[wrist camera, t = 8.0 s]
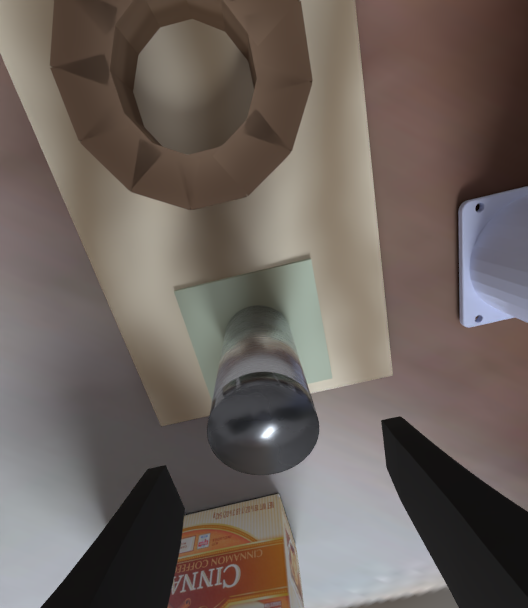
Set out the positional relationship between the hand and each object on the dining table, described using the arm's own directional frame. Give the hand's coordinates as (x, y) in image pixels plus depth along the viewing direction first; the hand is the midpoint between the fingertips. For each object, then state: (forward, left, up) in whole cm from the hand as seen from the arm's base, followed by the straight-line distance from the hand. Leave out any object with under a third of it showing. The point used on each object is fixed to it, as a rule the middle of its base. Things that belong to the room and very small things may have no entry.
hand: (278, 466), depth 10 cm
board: (0, -7, -10) cm, 13 cm away
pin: (0, 0, -9) cm, 9 cm away
